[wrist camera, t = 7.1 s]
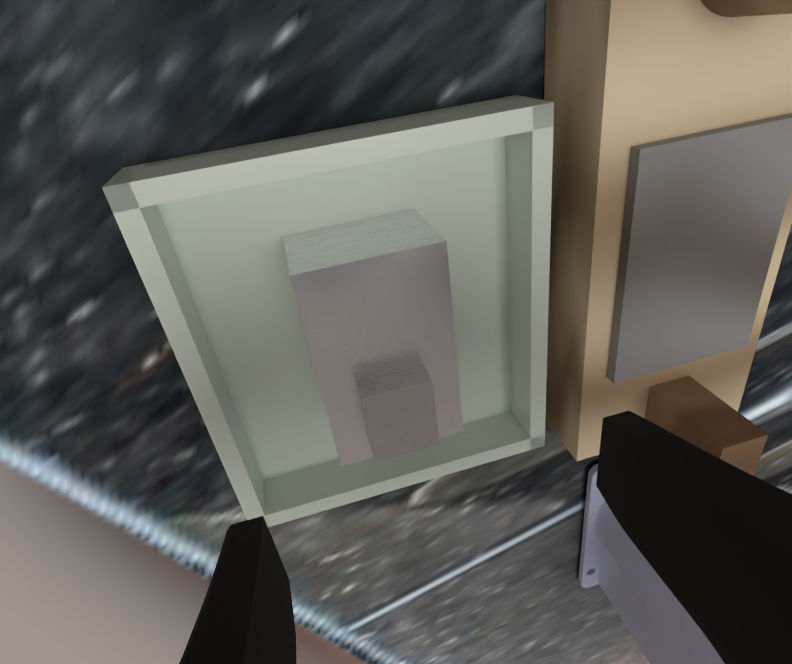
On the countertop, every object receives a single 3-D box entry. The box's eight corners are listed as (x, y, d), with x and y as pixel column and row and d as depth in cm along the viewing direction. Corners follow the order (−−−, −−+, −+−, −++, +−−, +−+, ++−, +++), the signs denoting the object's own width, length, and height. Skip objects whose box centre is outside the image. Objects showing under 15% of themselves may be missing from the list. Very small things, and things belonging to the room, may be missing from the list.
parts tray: (518, 410, 21) (544, 445, 19) (252, 485, 20) (252, 531, 18) (516, 94, 15) (554, 102, 13) (122, 167, 13) (101, 187, 11)
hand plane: (682, 371, 23) (816, 472, 17) (538, 412, 22) (632, 532, 16) (793, -181, 13) (1157, -332, 8) (548, -155, 12) (777, -306, 7)
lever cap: (434, 379, 19) (472, 448, 15) (328, 407, 18) (345, 485, 15) (414, 208, 15) (457, 251, 12) (283, 236, 15) (292, 289, 12)
